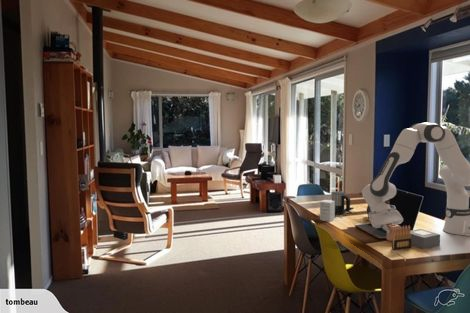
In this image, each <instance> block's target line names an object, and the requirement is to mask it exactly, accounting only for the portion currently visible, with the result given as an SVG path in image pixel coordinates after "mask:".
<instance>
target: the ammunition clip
mask: <svg viewBox="0 0 470 313" xmlns="http://www.w3.org/2000/svg"><path fill="white" fill-rule="evenodd" d="M399 226H400V228H399V227H398V226H397V230H396V227H394V232H393V239H392V241H391V249H392V250H393V251H398V250H406V249H407V250H408V249H412V245H411V232H410V231H411V226H410V224H409V225H408V226H407V225H403V226H401V225H399Z"/></svg>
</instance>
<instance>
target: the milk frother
mask: <svg viewBox="0 0 470 313" xmlns="http://www.w3.org/2000/svg"><path fill="white" fill-rule="evenodd" d="M331 200H332V201H335V215H343V214H345V213H346V212H347V213H348V212H349V211H351V210H354V206H353V207H351V198H350V196H348V195H346V194H345V192H344V191H331ZM345 201H346V202H345Z"/></svg>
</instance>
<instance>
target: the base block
mask: <svg viewBox="0 0 470 313" xmlns="http://www.w3.org/2000/svg"><path fill="white" fill-rule="evenodd" d="M410 232H411V246H413V247H416V248H419V249H422V250H425V249H426V250H427V249H431V248H435V247H440V246H441V245H440V244H441V234H439V233H436V232H432V231H430V230H427V229H422V228H417V229H412V230H411V229H410Z"/></svg>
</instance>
